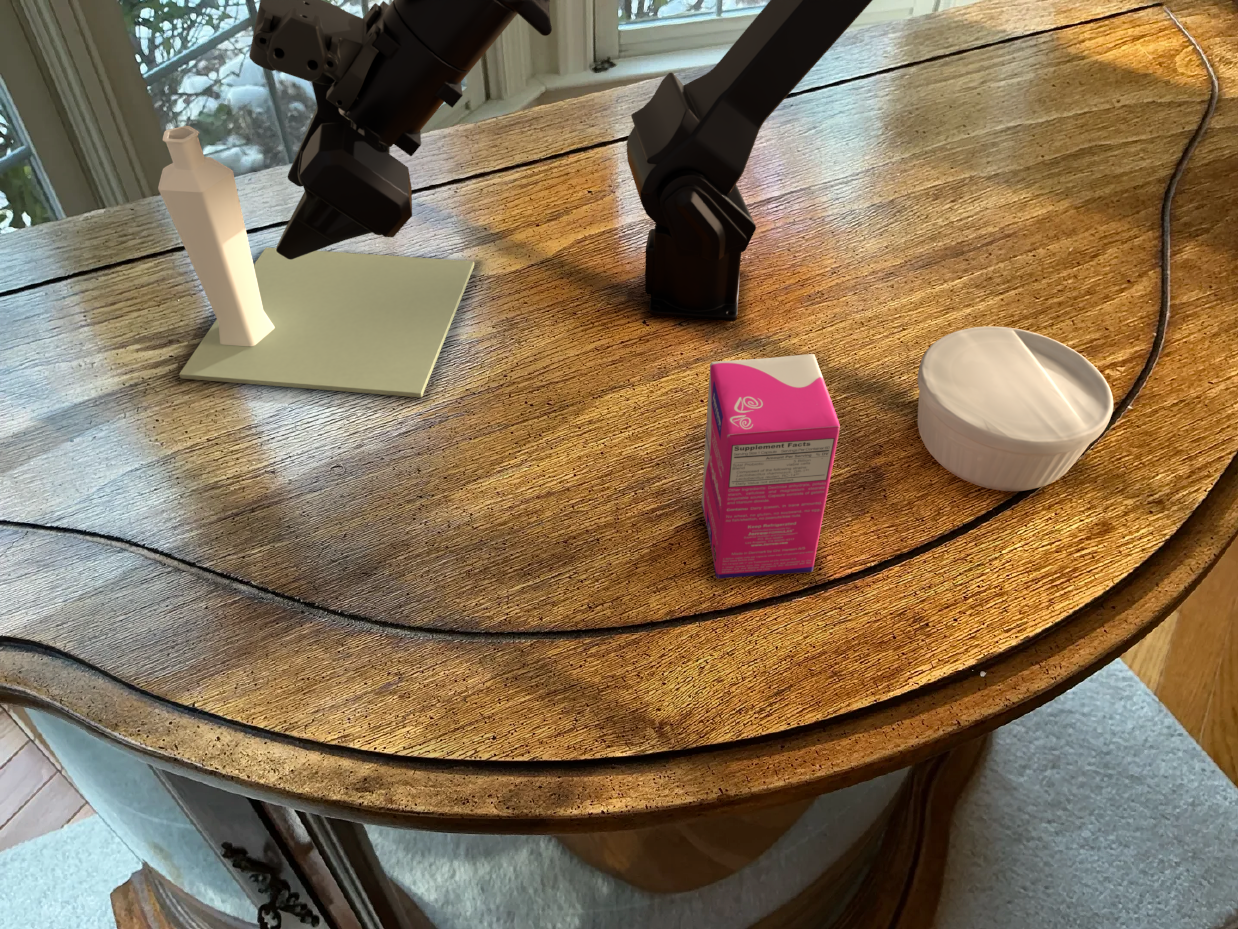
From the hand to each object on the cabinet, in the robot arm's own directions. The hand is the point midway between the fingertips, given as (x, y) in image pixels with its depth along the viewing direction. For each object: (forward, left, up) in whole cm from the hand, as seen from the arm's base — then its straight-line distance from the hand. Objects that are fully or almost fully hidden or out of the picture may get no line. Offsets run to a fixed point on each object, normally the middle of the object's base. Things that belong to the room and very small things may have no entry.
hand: (288, 216), depth 65 cm
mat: (-1, -1, -9) cm, 9 cm away
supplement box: (-32, +16, -9) cm, 37 cm away
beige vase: (+5, +1, -9) cm, 10 cm away
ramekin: (-47, +6, -9) cm, 48 cm away
